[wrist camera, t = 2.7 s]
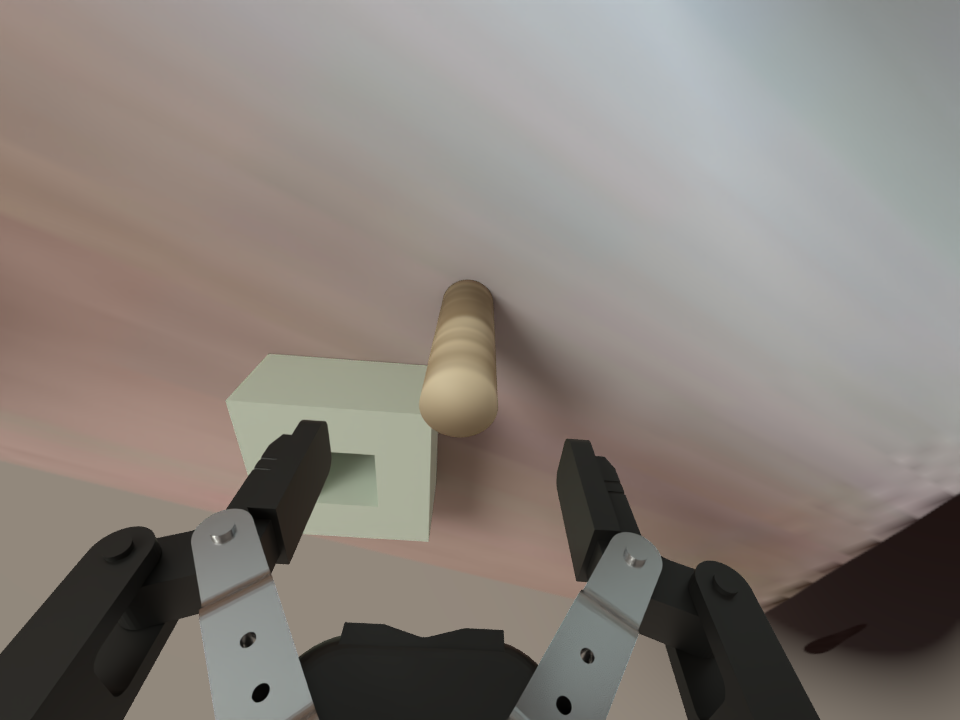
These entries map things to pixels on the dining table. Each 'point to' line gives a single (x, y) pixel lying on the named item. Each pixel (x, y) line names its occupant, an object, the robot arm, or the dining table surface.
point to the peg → (462, 364)
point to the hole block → (349, 439)
